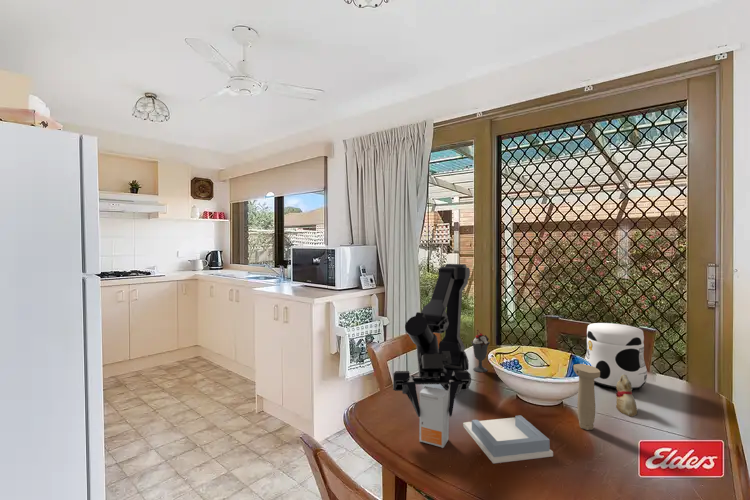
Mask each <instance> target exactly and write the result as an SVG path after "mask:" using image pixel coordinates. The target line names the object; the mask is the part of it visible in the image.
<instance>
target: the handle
mask: <svg viewBox="0 0 750 500" xmlns="http://www.w3.org/2000/svg"><path fill="white" fill-rule="evenodd" d="M573 371H574V373H575V374H576V375H577V376H578V389H577V390H578V391H577V401H576V402H577V403H576V405H577V418H578V425H579V428H581V429H582V430H583V429H584V430H585V431H590V430H591V431H593V430H594V428H595V427H594V423H595V420H596V419H595V417H596V395H595V394H596V392H595V382H594V379H595V378H598V377H600V371H599V370H598V369H597V368H595V367H593V366H590V365H586V364H584V363H577V364H573Z"/></svg>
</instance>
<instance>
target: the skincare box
mask: <svg viewBox="0 0 750 500" xmlns="http://www.w3.org/2000/svg"><path fill="white" fill-rule="evenodd" d="M418 394H419V397H418V403H419V408H420V417H418V418H419V425H418V426H419V429H418V430H419V433H418V434H419V435H418V437H419V443H425V444H429V445H432V446H436V447H439V448H442V449H443V448H445V446H446V444H447V442H448V441H449V435H450V434H449V429H450V428H449V419H450V416H449V391H448V390H447V389H443V388H442V389H441V388H437V387H430V386H424V387H423V388H422V389H420V391H419V393H418Z"/></svg>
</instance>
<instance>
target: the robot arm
mask: <svg viewBox="0 0 750 500" xmlns="http://www.w3.org/2000/svg"><path fill="white" fill-rule="evenodd" d="M470 275H471V270H470V267H467V265H466V264H465V263H447V264H445V266H439V268H438V277H437V280H436V283H435V286H434V289H433V292H432V295H431V298H430V301H429V303H427V304H425V305H424V306H423V307H422V309H421V312H420V311H419V312H416V313H415V315H414V316H411V317H410V318H409V319H407V321H406V322H405V324H404V325H405V326H404V328H405V330H404V331H405V332H406V333H407V335H408V337H409V338H410V340H411V341H412V342H413V344H415V345H416V357H417V366H418V375H411V374H410V373H411V372H410V371H409V370H395V371H394V373H393V375H392V376H393V377H392V389H393V391H396V392H401V393H402V394H403V395H406V396H407V398H408V399H409V401H410V402H411V405H412V406H413V408H414V411H415V413H416V416H417V417H418V418H419V417H420V408H419V397H418V393H417V385H442V387H444V389H445V390H448V391H449V418H450V417H452V416H453V410H454V404H455V399H456V395H457V394H460V393H461V391H467V390H469V388H470V385H471V382H472V377H471V373H470V372H469V368H470V367H469V366H470V365H469V364H470V363H469V358H468V355H467V353H466V351H465V344H464V343H463V340H462V339H461V322H462V321H461V320H462V304H463V303H462V301H463V291H464V290H465V288H466V287H467V285H468V284H469V283H468V282H469V281H468V280H469V278H470ZM443 333H444V337H443V338H442V340H440V341H439V342H438V340H439V339H438V336H437V334H443Z"/></svg>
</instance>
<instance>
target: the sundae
mask: <svg viewBox="0 0 750 500" xmlns="http://www.w3.org/2000/svg"><path fill="white" fill-rule="evenodd" d="M476 331H477V333H476V335H475V338H474V339H473V340H470V343H471V344H472V348H473V355H474V357H475V359H477V361H478V366H476V367H473V368H472V370H473V371H474V372H477V373H486V372H487V371H489V370H488V369H487V368H486V367H484V366H483V361H484V360H485V359H486V358H487V355H488V347H489V345H490V344H491V342H490V341H489V337H488V336H487V335H486V334H485V335H484V334H483V333H481V332H480V331H479V329H477V330H476ZM478 333H479V334H478Z"/></svg>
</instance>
